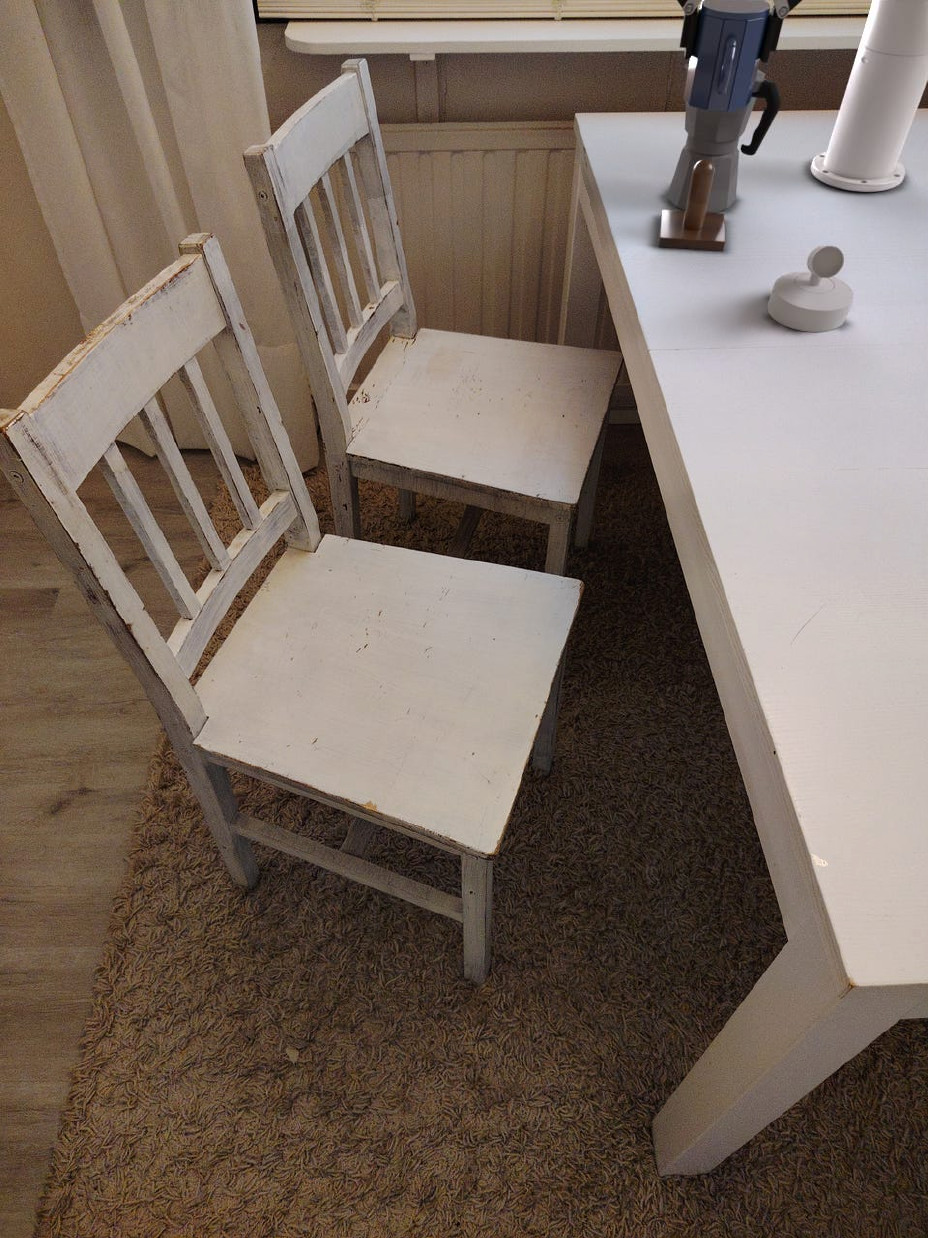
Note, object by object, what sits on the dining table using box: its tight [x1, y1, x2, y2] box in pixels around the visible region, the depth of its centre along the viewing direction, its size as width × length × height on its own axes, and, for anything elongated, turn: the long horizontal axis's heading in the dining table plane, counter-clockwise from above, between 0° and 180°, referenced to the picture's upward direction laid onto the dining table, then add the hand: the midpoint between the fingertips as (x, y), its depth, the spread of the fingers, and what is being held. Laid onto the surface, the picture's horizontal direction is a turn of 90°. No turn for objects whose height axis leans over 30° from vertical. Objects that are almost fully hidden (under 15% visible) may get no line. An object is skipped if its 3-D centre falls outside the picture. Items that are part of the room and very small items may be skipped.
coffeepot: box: [666, 63, 782, 213], centre depth 102 cm, size 15×9×18 cm, turn 36°
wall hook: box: [767, 244, 855, 333], centre depth 87 cm, size 9×10×10 cm
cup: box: [683, 0, 772, 112], centre depth 87 cm, size 9×8×9 cm
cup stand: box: [658, 159, 726, 252], centre depth 100 cm, size 8×8×9 cm
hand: (725, 55), depth 88 cm, fingers closed on cup, 7 cm apart
